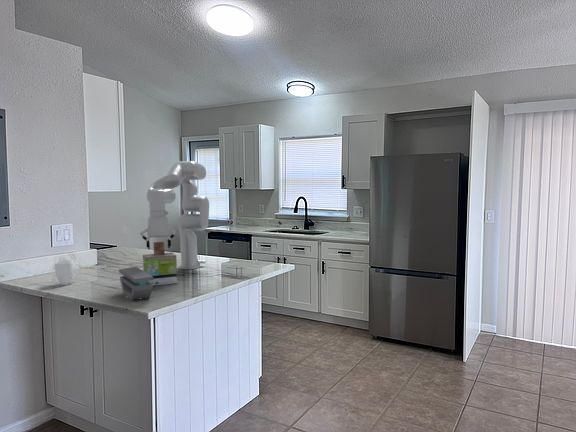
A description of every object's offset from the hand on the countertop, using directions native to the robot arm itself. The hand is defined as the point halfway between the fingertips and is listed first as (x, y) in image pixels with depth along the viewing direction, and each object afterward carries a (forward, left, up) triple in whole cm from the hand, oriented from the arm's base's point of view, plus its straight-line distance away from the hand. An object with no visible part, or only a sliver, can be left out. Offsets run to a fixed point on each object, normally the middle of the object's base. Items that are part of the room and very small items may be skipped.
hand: (158, 248), depth 222 cm
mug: (+44, -16, -18) cm, 50 cm away
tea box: (0, 0, -18) cm, 18 cm away
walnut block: (0, 0, -3) cm, 3 cm away
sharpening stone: (+11, +22, -18) cm, 31 cm away
